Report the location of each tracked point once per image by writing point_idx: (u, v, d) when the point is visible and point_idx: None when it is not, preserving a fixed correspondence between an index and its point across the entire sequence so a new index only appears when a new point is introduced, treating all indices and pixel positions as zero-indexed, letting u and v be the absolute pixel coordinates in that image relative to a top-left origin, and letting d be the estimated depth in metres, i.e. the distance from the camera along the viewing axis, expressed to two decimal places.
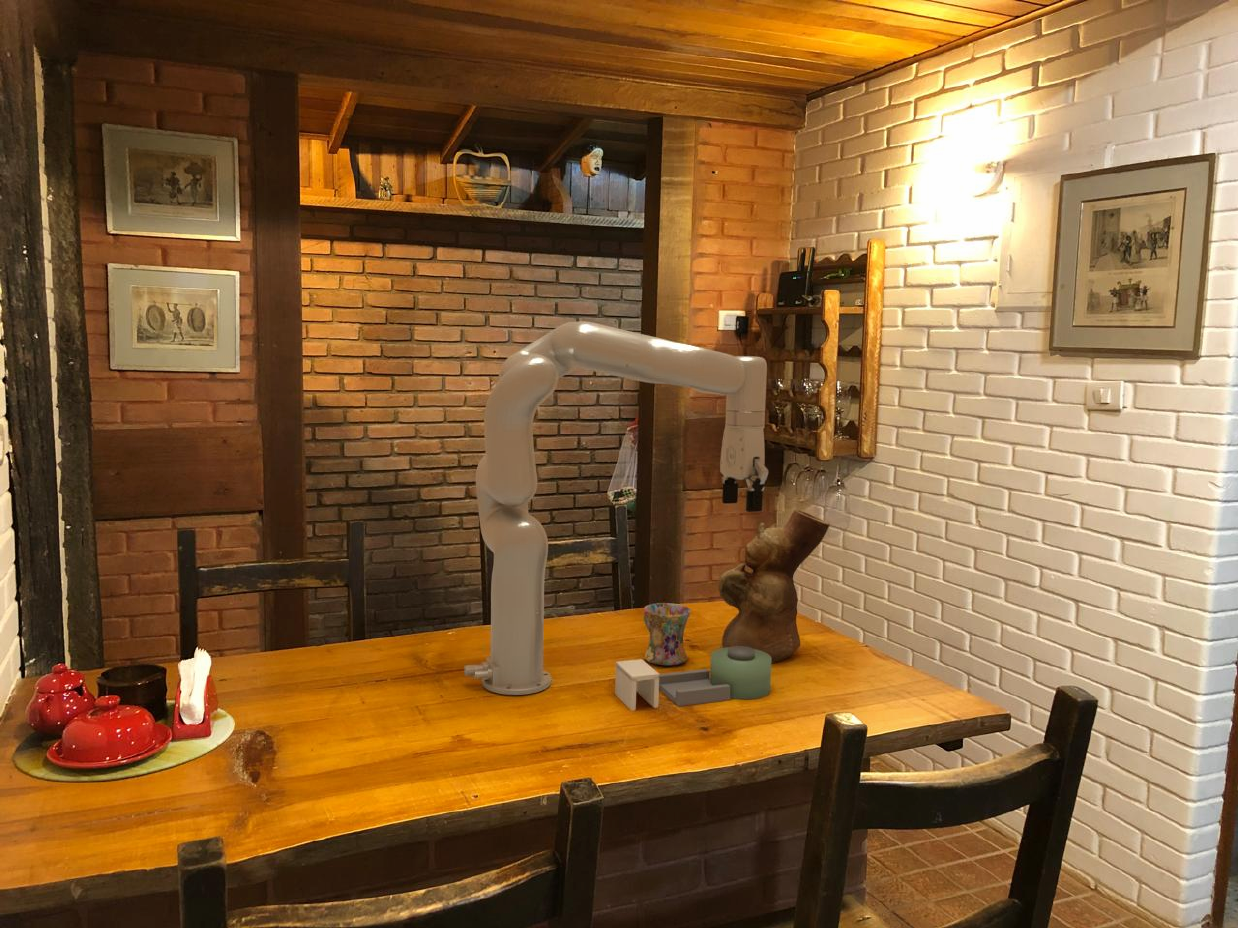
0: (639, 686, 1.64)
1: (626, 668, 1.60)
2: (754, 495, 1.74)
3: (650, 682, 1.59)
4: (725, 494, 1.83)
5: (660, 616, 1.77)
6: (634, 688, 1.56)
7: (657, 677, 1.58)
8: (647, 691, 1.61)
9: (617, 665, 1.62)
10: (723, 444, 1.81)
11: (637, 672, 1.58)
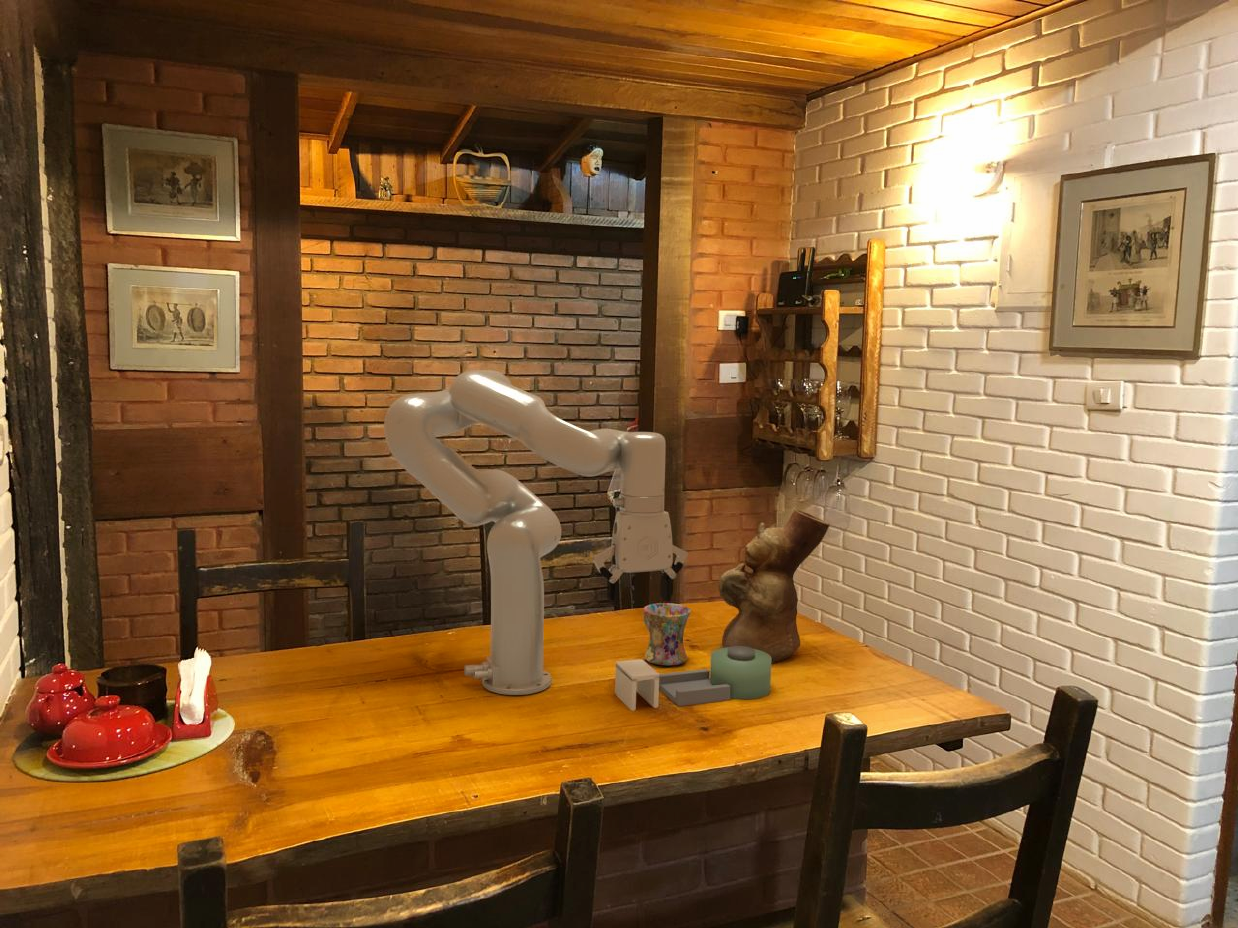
0: (639, 686, 1.64)
1: (626, 668, 1.60)
2: None
3: (650, 682, 1.59)
4: None
5: (660, 616, 1.77)
6: (634, 688, 1.56)
7: (657, 677, 1.58)
8: (647, 691, 1.61)
9: (617, 665, 1.62)
10: (627, 537, 1.54)
11: (637, 672, 1.58)
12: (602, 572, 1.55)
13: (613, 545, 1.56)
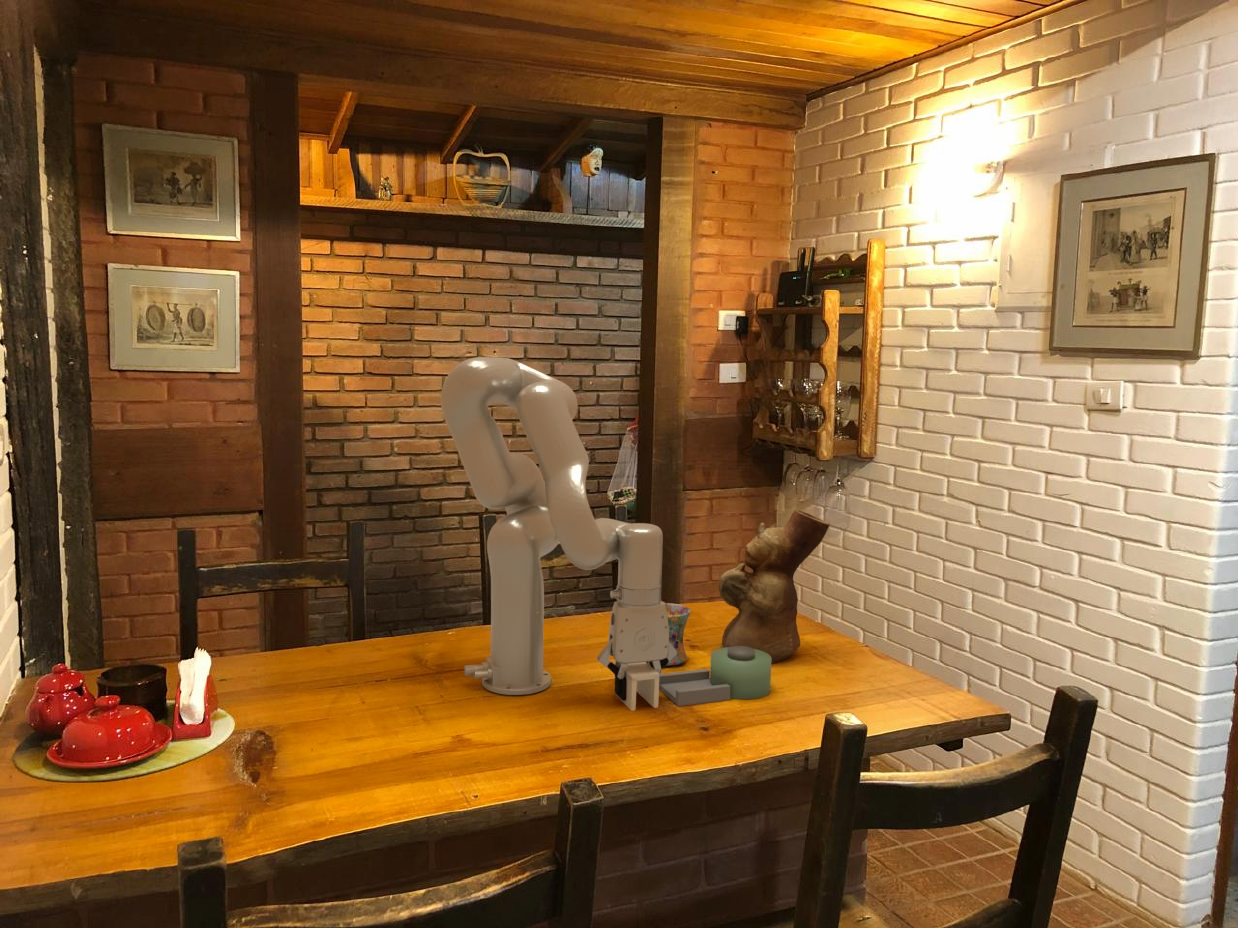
0: (639, 686, 1.64)
1: (626, 668, 1.60)
2: None
3: (650, 682, 1.59)
4: None
5: None
6: (634, 688, 1.56)
7: (657, 677, 1.58)
8: (647, 691, 1.61)
9: None
10: (624, 629, 1.56)
11: (637, 672, 1.58)
12: (610, 668, 1.58)
13: (611, 639, 1.58)
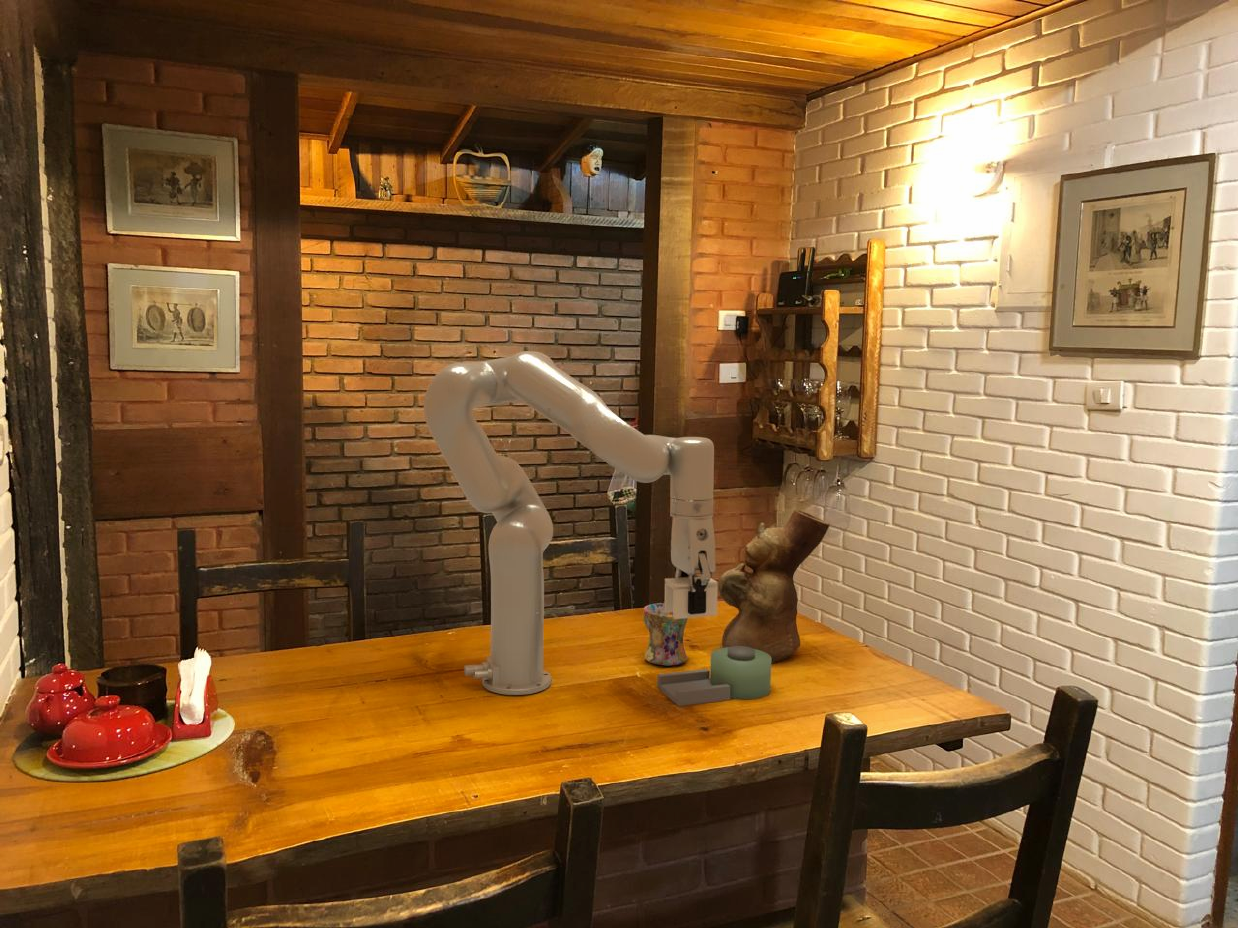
0: (672, 604, 1.63)
1: None
2: None
3: None
4: None
5: (660, 616, 1.77)
6: None
7: None
8: None
9: (679, 587, 1.59)
10: None
11: None
12: (707, 583, 1.57)
13: (701, 555, 1.57)
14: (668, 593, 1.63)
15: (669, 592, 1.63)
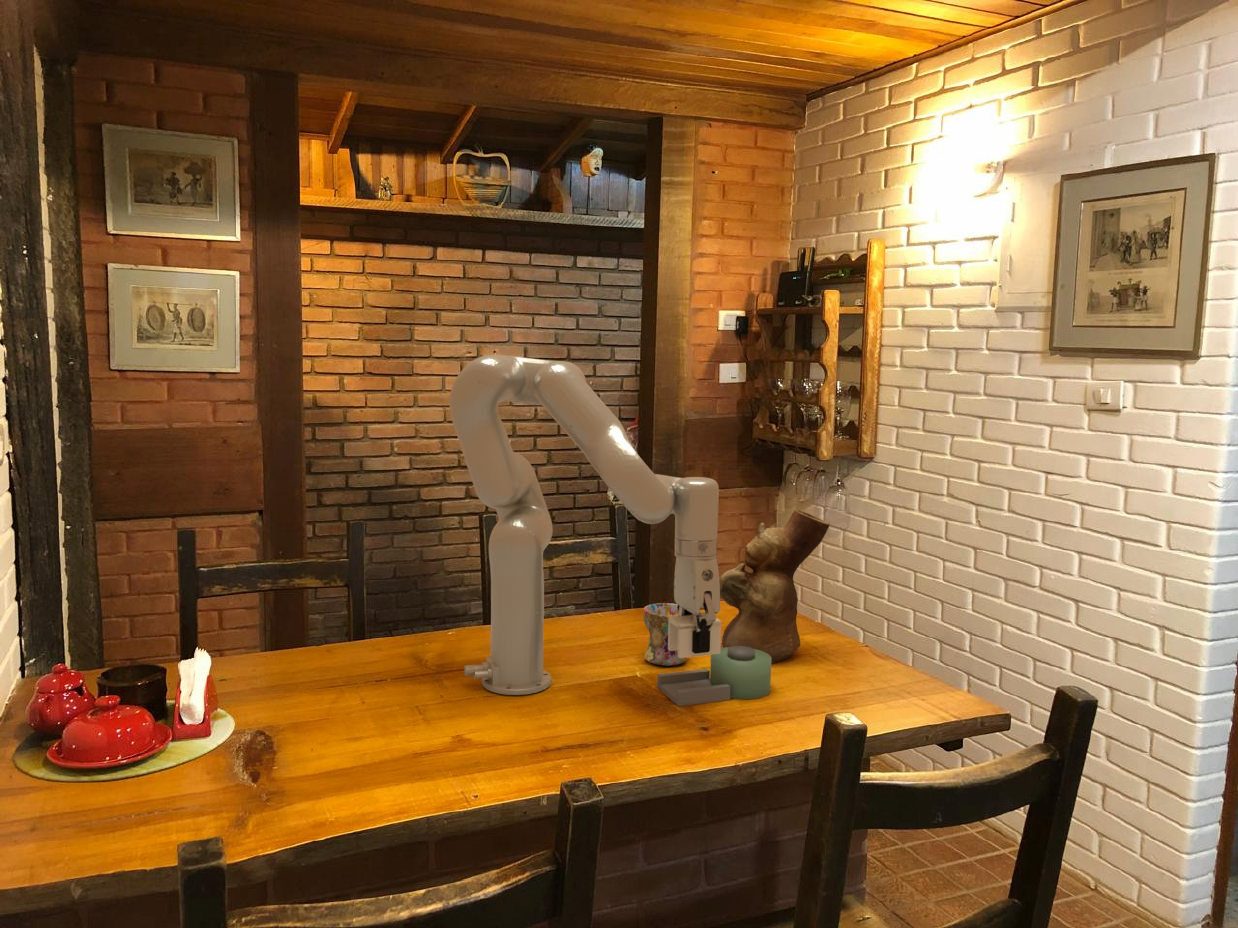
0: (676, 642, 1.64)
1: None
2: None
3: None
4: None
5: (660, 616, 1.77)
6: None
7: None
8: None
9: (684, 626, 1.60)
10: None
11: None
12: (712, 623, 1.58)
13: (706, 596, 1.58)
14: (671, 631, 1.64)
15: (673, 630, 1.64)
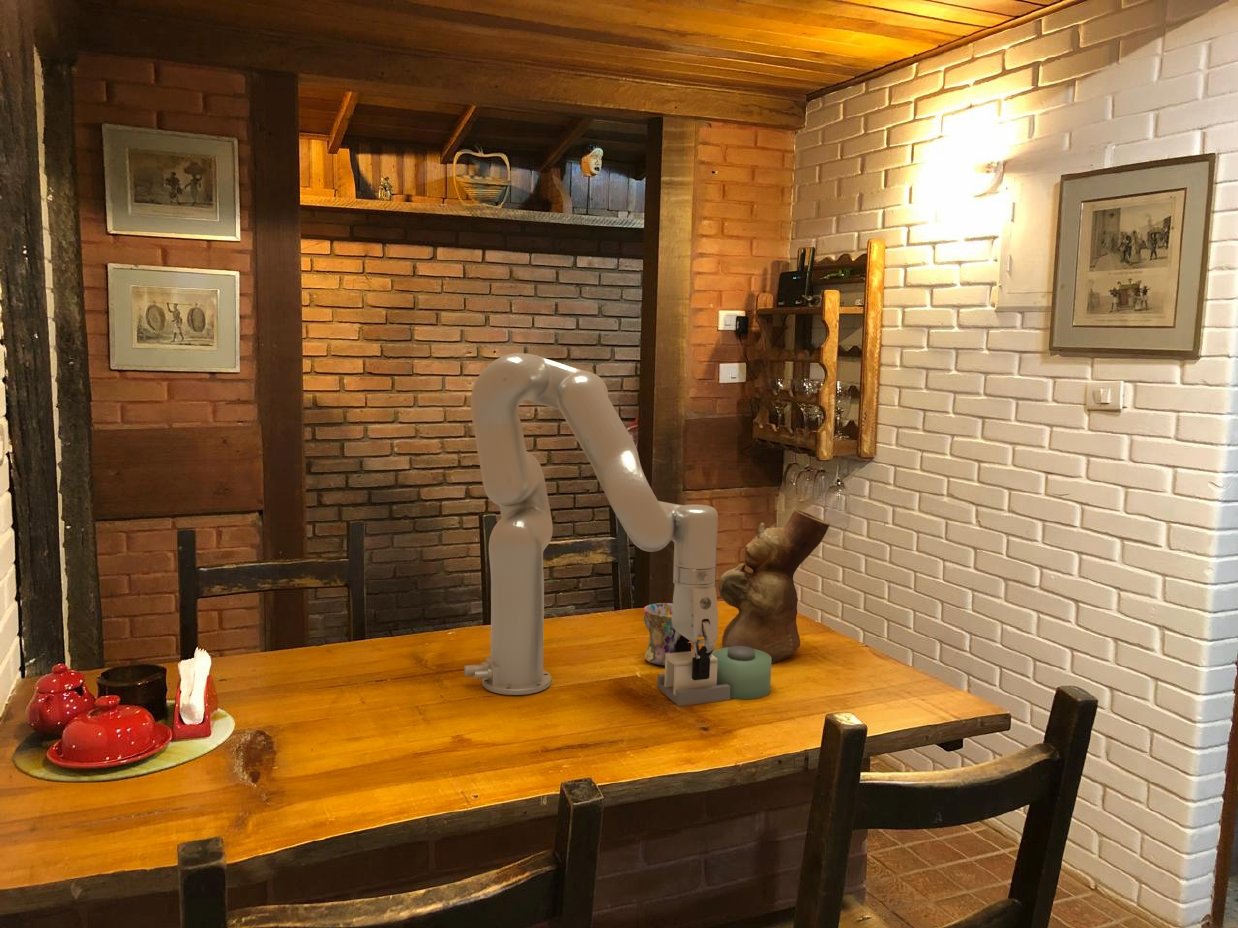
0: (672, 679, 1.65)
1: None
2: None
3: None
4: None
5: (660, 616, 1.77)
6: None
7: None
8: None
9: (680, 664, 1.61)
10: None
11: None
12: (712, 650, 1.58)
13: (704, 622, 1.58)
14: (668, 668, 1.65)
15: (669, 667, 1.65)
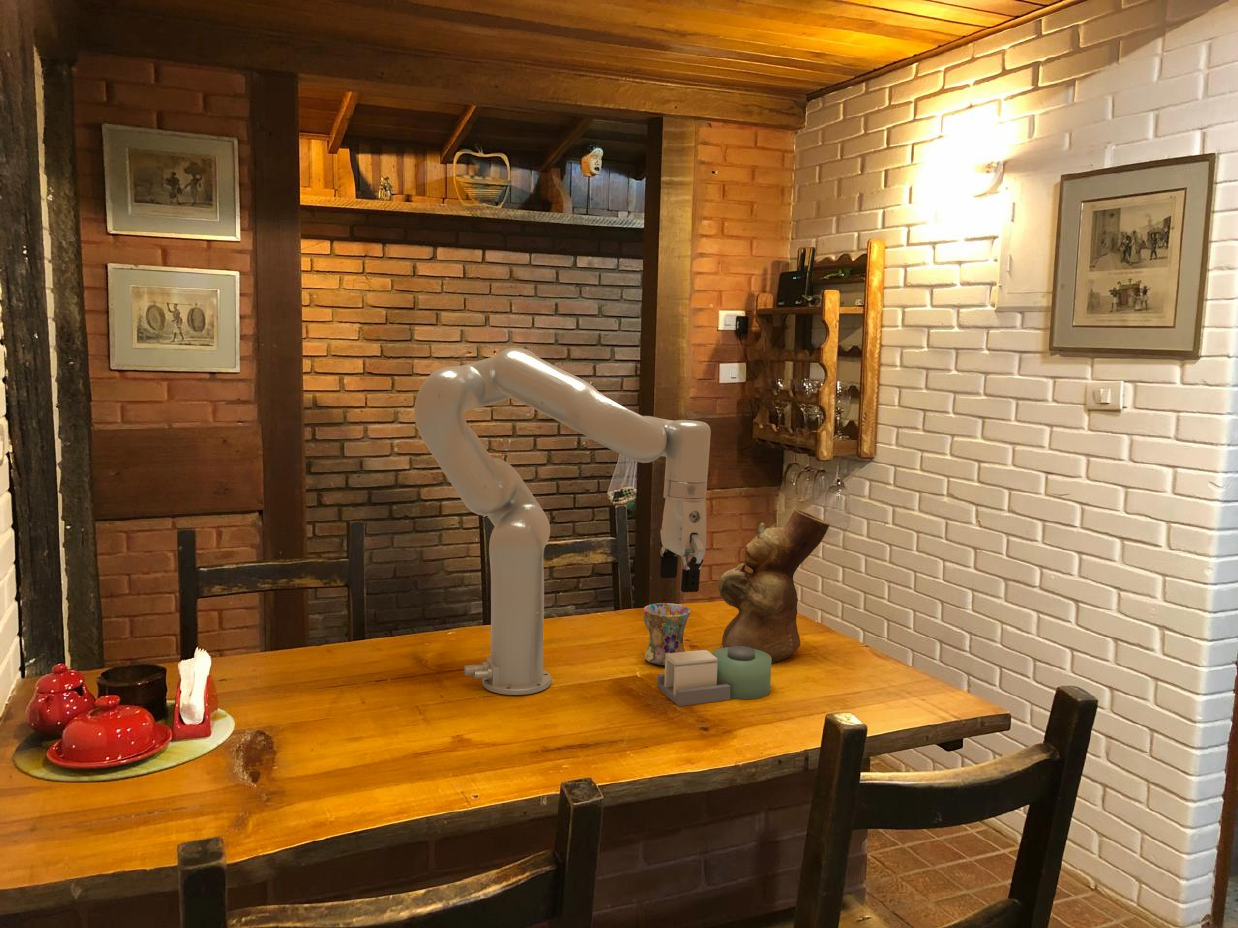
0: (672, 679, 1.65)
1: (694, 659, 1.62)
2: None
3: None
4: None
5: (660, 616, 1.77)
6: None
7: None
8: None
9: (680, 664, 1.61)
10: None
11: (704, 656, 1.64)
12: (702, 561, 1.57)
13: (693, 534, 1.58)
14: (668, 668, 1.65)
15: (669, 667, 1.65)
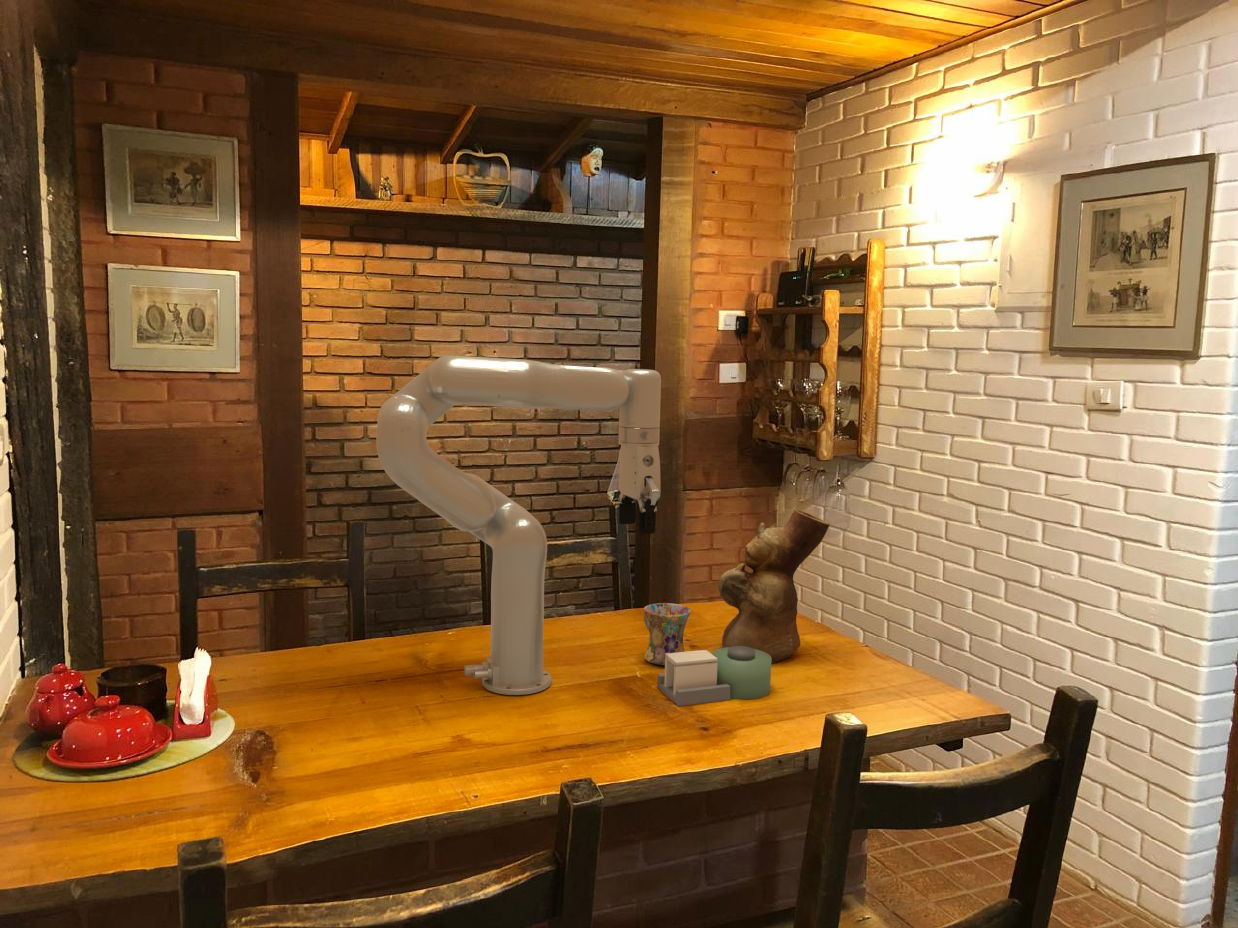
0: (672, 679, 1.65)
1: (694, 659, 1.62)
2: None
3: None
4: None
5: (660, 616, 1.77)
6: None
7: None
8: None
9: (680, 664, 1.61)
10: None
11: (704, 656, 1.64)
12: None
13: (647, 477, 1.64)
14: (668, 668, 1.65)
15: (669, 667, 1.65)
